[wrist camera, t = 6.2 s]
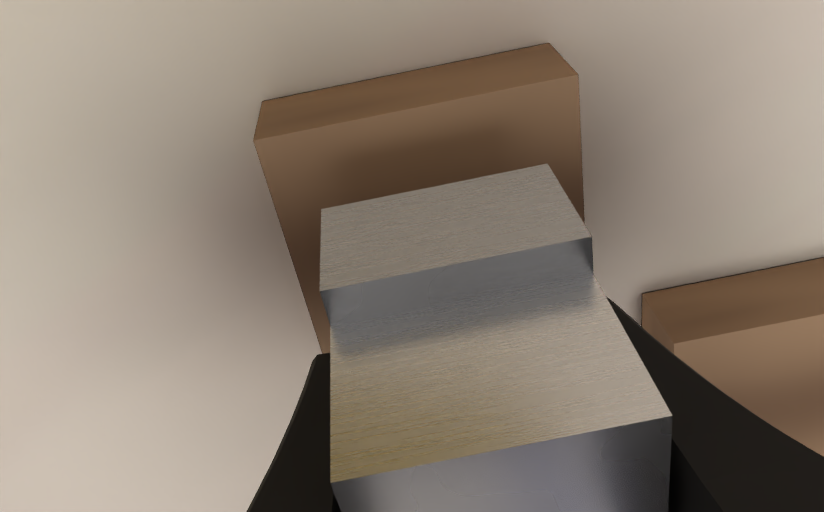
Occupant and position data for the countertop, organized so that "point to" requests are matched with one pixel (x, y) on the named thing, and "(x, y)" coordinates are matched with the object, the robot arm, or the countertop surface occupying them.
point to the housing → (483, 358)
